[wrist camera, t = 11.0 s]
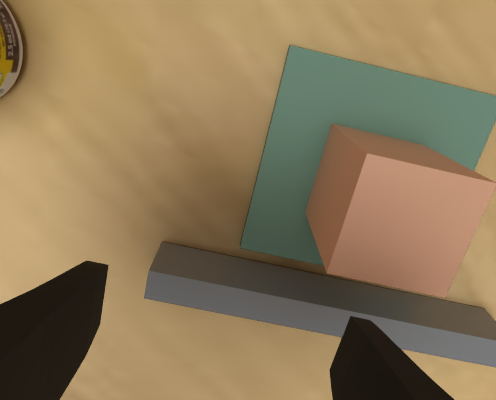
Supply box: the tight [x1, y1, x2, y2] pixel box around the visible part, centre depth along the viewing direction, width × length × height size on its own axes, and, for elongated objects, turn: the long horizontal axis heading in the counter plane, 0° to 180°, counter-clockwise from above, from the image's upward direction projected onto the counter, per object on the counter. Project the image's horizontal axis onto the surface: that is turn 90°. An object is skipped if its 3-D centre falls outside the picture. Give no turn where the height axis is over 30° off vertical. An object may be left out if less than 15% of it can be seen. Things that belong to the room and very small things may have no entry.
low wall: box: [144, 242, 496, 367], centre depth 21 cm, size 2×18×3 cm, turn 77°
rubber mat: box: [240, 45, 496, 266], centre depth 20 cm, size 10×10×1 cm
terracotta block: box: [305, 123, 496, 298], centre depth 17 cm, size 4×4×6 cm
